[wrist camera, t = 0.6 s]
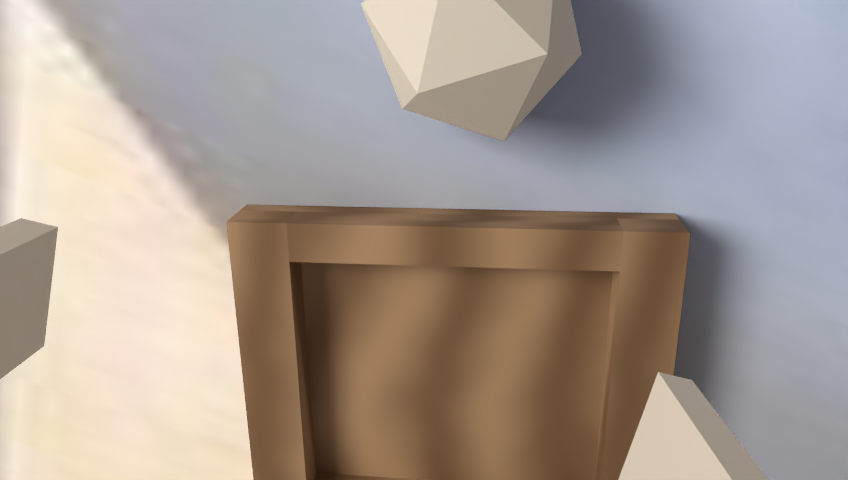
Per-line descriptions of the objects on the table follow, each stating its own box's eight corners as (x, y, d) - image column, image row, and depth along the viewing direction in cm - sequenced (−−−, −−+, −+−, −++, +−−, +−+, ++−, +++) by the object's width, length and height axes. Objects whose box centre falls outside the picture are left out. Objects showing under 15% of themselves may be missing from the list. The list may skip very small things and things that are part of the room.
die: (609, 30, 33) (602, -126, 25) (537, 191, 32) (504, 87, 23) (455, -7, 36) (400, -159, 28) (383, 139, 35) (301, 29, 26)
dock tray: (675, 213, 35) (690, 232, 32) (642, 510, 41) (652, 547, 38) (247, 204, 38) (226, 222, 35) (273, 487, 43) (258, 521, 41)
